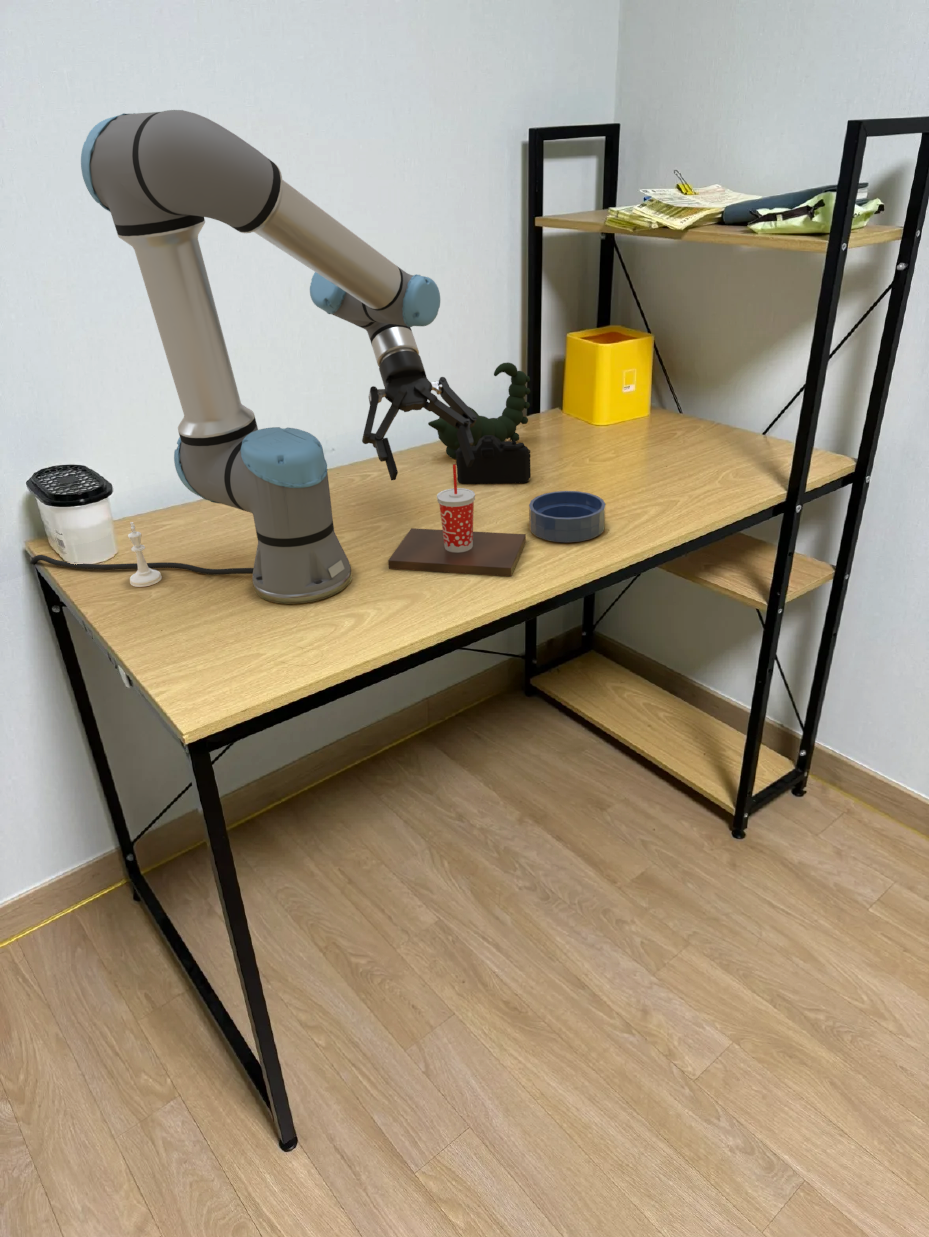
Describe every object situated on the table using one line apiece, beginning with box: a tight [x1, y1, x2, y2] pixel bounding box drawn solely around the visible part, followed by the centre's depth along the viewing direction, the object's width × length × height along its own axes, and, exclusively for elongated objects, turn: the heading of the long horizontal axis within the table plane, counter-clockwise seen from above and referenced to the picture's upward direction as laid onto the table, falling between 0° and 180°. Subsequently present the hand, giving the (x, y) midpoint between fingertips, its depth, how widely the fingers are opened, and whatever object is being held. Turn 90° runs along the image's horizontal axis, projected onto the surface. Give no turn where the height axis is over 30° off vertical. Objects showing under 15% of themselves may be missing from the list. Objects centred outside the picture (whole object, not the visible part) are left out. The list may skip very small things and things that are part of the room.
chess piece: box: [127, 521, 163, 588], centre depth 138 cm, size 5×5×10 cm
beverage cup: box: [436, 463, 476, 553], centre depth 139 cm, size 6×6×14 cm
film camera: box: [454, 435, 532, 485], centre depth 173 cm, size 15×10×9 cm, turn 84°
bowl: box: [528, 490, 607, 543], centre depth 149 cm, size 13×13×4 cm
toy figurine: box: [427, 362, 531, 460], centre depth 184 cm, size 9×19×25 cm
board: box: [387, 527, 527, 577], centre depth 143 cm, size 20×13×2 cm, turn 77°
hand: (433, 470), depth 146 cm, fingers open, 13 cm apart
